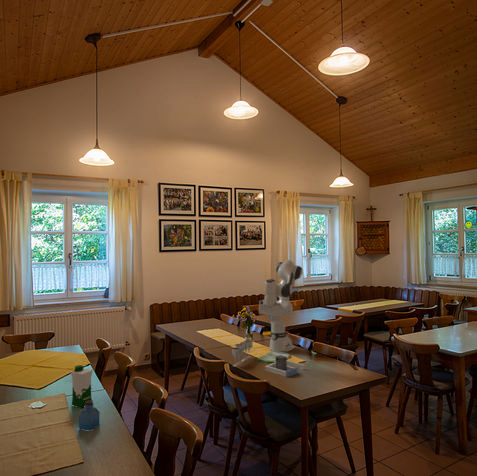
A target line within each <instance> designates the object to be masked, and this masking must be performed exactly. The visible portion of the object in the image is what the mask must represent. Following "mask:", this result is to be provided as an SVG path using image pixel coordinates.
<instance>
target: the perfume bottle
mask: <svg viewBox="0 0 477 476" xmlns="http://www.w3.org/2000/svg"><path fill="white" fill-rule="evenodd" d="M93 402H94V400H88V401H86V404H85V407H84V408H83V409H82V410H81V412H80V414H79V416H78V429H79V428H80V429H84V430H89V431H90V430H92V429H94V428H95V427H97V426H99V427H100V411H99V410H98V409H97V407H94V403H93ZM97 428H98V427H97ZM95 429H96V428H95ZM95 429H94V430H95ZM92 431H93V430H92Z"/></svg>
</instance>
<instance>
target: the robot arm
mask: <svg viewBox="0 0 477 476" xmlns="http://www.w3.org/2000/svg"><path fill="white" fill-rule="evenodd" d="M275 271H276V273H277V276H278V278H279V279H280V282H279V283H277V281H276V280H275V279H271V278H270V279H266V280H265V281H264V287H263V288H264V299H262V300H259V302H258V304H259V305H258V313H259V314H260V315H264V316H266V317H267V319H268V322H270V328H271V329H270V338H269V339H270V341H269V346H268V348H269V350H270V352H271V351H272V350H274V351H278V352H283V353H289V352H290V351H292V350H293V349H295V348H296V346H295V345H294V344H293V340H292V339H291V338H289V336H288V335H289V334H290V333H289V331H286V322H285V320H284V319H282V318H281V317H283V316H290V315H292V313H293V310H294V308H293V307H294V306H293V304H292V303H291V301H290V297H291V296H292V295H293V287H294V282H295V281H296V280H299V279H300V278H301V277H302V275H303V272H304V271H303V268H302V266H300V265H296V264H294V262H293V260H291V259H286V260H284V261H279V262H278V263H277V264H276V268H275ZM277 297H278V298H279V300H278V298H277Z"/></svg>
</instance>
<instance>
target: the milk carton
mask: <svg viewBox="0 0 477 476" xmlns="http://www.w3.org/2000/svg"><path fill="white" fill-rule="evenodd" d="M93 371H94V370H93V369H90V368H86V367H85V368H84V365H76V366H74V370H73V371H71V372H70V374H71V375H70V376H71V378H72V379H71V380H72V388H71V389H72V397H71V406H72V405H74V406H77V407H84V406H85V404H86V401H88V400H92V374H93ZM77 407H76V408H77ZM84 408H85V407H84Z"/></svg>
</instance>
